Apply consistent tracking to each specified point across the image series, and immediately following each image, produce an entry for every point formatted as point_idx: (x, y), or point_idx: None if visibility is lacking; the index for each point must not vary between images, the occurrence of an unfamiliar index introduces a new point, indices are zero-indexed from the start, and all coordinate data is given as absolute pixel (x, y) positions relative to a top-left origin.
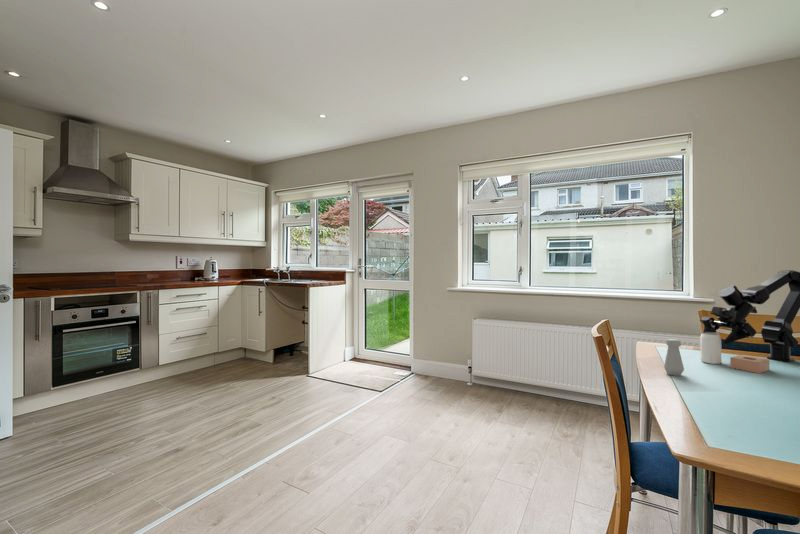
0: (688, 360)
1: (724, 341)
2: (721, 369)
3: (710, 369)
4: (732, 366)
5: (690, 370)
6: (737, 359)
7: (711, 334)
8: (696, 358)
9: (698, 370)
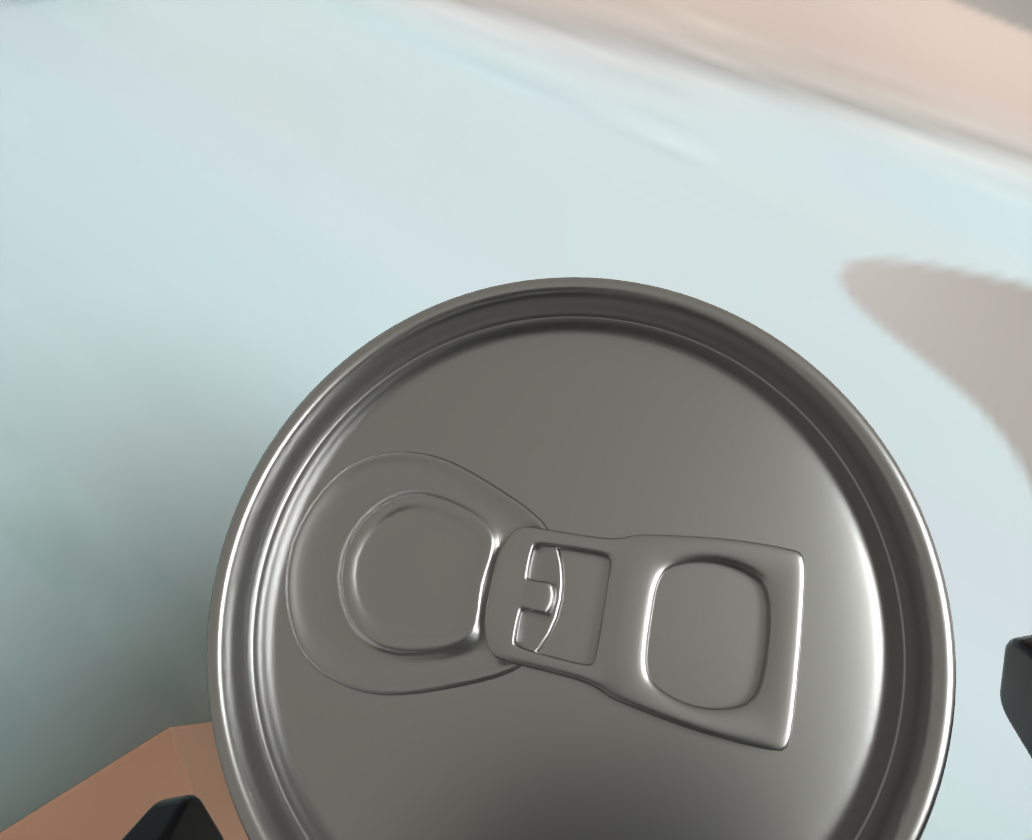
0: None
1: (158, 816)
2: (199, 504)
3: (215, 363)
4: None
5: (204, 128)
6: (76, 791)
7: (282, 438)
8: None
9: (194, 205)
